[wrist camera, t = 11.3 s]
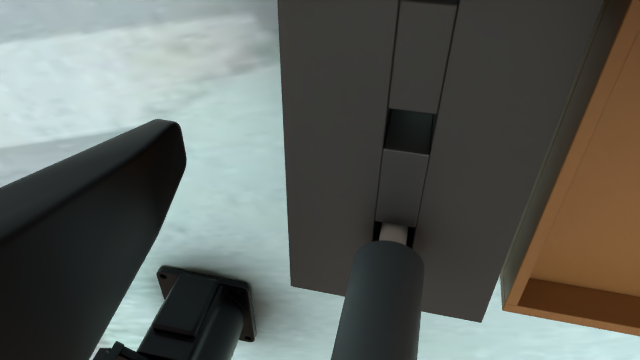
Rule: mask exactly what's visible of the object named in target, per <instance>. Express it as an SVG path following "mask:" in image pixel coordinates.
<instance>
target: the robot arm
mask: <svg viewBox="0 0 640 360" xmlns="http://www.w3.org/2000/svg"><path fill="white" fill-rule="evenodd" d="M185 168H186V152H185V147H184V142H183V136H182V131H181V127H180V125H179V124H178V123H177V122H174V121H168V120H162V119H155V120H153V121H150V122H148V123H146V124H144V125H141V126H139V127H137V128H135V129H132V130H130V131H128V132H125V133H123V134H121V135H119V136H116V137H114V138H112V139H110V140H107V141H105V142H103V143H101V144H98V145H96V146H94V147H91V148H89V149H87V150H85V151H82V152H80V153H78V154H76V155H73V156H71V157H69V158H67V159H64V160H62V161H60V162H58V163H55V164H53V165H51V166H48V167H46V168H44V169H42V170H39V171H37V172H35V173H33V174H30V175H28V176H26V177H24V178H21V179H19V180H17V181H14V182H12V183H10V184H8V185H5V186H3V187H1V188H0V360H89V359H90V357H91V355H92V353H93V352H94V350H95V348H96V346H97V344H98V343H99V341H100V339H101V337H102V335H103V334H104V332H105V330H106V328H107V326H108V325H109V323H110V321H111V319H112V317H113V316H114V314H115V312H116V310H117V308H118V307H119V305H120V303H121V301H122V299H123V298H124V296H125V294H126V292H127V290H128V289H129V287H130V285H131V283H132V281H133V280H134V278H135V276H136V274H137V272H138V271H139V269H140V267H141V265H142V263H143V262H144V260H145V258H146V256H147V254H148V253H149V251H150V249H151V247H152V245H153V243H154V242H155V240H156V238H157V236H158V234H159V231H160V229H161V227H162V225H163V222H164V220H165V217H166V215H167V212H168V210H169V208H170V205H171V203H172V200H173V198H174V195H175V193H176V191H177V188H178V186H179V183H180V181H181V178H182V176H183V173H184V171H185ZM157 278H158V281H159V284H160V287H161V290H162V294H163V297H164V300H165V301H164V303H163V304H162V306H161V308H160V310H159V312H158V313H157V315H156V317H155V319H154V321H153V322H152V324H151V326H150V328H149V330H148V332H147V333H146V335H145V337H144V339H143V341H142V342H141V344H140V346H139V348H138V350H137V351H136V352H135V351H133V350H131V349H129V348H127V347H125V346H124V344H122V343H120V342H118V341H116V342H115V344H114V346H113V347H112V349H111V348H100V349H99V350H98V352H97V354H96V355H95V357H94V359H93V360H231V358H232V355H233V353H234V350H235V348H236V345H237V343H238V340H242V341H247V342H253V341H254V340H255V337H256V329H255V322H254V314H253V307H252V299H251V292H250V287H249V286H248V285H247V284H246V283H243V282H238V281H233V280H228V279H223V278H218V277H212V276H207V275H202V274H197V273H192V272H187V271H181V270H176V269H171V268H166V267H161V268H160V269H159V270H158V272H157Z"/></svg>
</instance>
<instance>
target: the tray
mask: <svg viewBox="0 0 640 360" xmlns="http://www.w3.org/2000/svg"><path fill="white" fill-rule="evenodd" d="M500 279H501V297H502V310H503V311H508V312H513V313H518V314H524V315H529V316H534V317H540V318H545V319H550V320H556V321H561V322H566V323H572V324H577V325H582V326H588V327H593V328H599V329H604V330H609V331H615V332H620V333H625V334H631V335H636V336H640V0H604V2H603V5H602V7H601V10H600V13H599V15H598V18H597V20H596V23H595V26H594V28H593V31H592V34H591V36H590V39H589V41H588V44H587V47H586V49H585V52H584V55H583V57H582V60H581V62H580V65H579V68H578V70H577V73H576V76H575V78H574V81H573V83H572V86H571V89H570V91H569V94H568V97H567V99H566V102H565V104H564V107H563V110H562V112H561V115H560V118H559V120H558V123H557V125H556V128H555V131H554V133H553V136H552V139H551V141H550V144H549V146H548V149H547V152H546V154H545V157H544V160H543V162H542V165H541V167H540V170H539V173H538V175H537V178H536V181H535V183H534V186H533V188H532V191H531V194H530V196H529V199H528V202H527V204H526V207H525V209H524V212H523V215H522V217H521V220H520V223H519V225H518V228H517V230H516V233H515V236H514V238H513V241H512V244H511V246H510V249H509V251H508V254H507V257H506V259H505V262H504V265H503V267H502V270H501V272H500Z"/></svg>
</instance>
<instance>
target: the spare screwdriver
mask: <svg viewBox="0 0 640 360" xmlns="http://www.w3.org/2000/svg"><path fill="white" fill-rule="evenodd" d="M407 233H408V226H402V225H396V224H390V223H384V222H382V227H381V232H380V237H379V241H373V242H370V243H367V244H365V245H363V246H362V247H361V248H360V249H359V250H358V251H357V252H356V254H355V256H354V261H353V265H352V269H351V274H350V278H349V283H348V287H347V291H346V296H345V300H344V304H343V309H342V313H341V318H340V322H339V326H338V331H337V335H336V339H335V344H334V348H333V353H332V357H331V360H417V353H418V341H419V330H420V318H421V307H422V295H423V284H424V272H425V266H424V262H423V260H422V258H421V257H420V255H419V254H418V253H417V252H416V251H414V250H413V249H412V248H410V247H408V246H406V241H407Z"/></svg>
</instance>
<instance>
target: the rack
mask: <svg viewBox="0 0 640 360" xmlns="http://www.w3.org/2000/svg"><path fill="white" fill-rule="evenodd" d="M603 2H604V0H278V21H279V42H280V64H281V85H282V106H283V128H284V149H285V170H286V192H287V213H288V234H289V256H290V277H291V286H293V287H298V288H303V289H309V290H314V291H319V292H324V293H329V294H335V295H340V296H346V291H347V287H348V283H349V278H350V274H351V269H352V265H353V261H354V256H355V254H356V252H357V251H358V250H359V249H360V248H361V247H362V246H363V245H365V244H367V243H370V242H373V241H379V237H380V232H381V227H382V222H384V223H390V224H396V225H402V226H408V233H407V241H406V246H408V247H410V248H412V249H413V250H414V251H416V252H417V253H418V254H419V255H420V257H421V258H422V260H423V262H424V266H425V272H424V284H423V295H422V307H421V311H423V312H428V313H433V314H438V315H443V316H449V317H454V318H459V319H464V320H469V321H475V322H480V323H481V322H482V320H483V317H484V314H485V312H486V309H487V307H488V304H489V301H490V299H491V296H492V293H493V291H494V288H495V286H496V283H497V280H498V278H499V275H500V272H501V270H502V267H503V265H504V262H505V259H506V257H507V254H508V251H509V249H510V246H511V244H512V241H513V238H514V236H515V233H516V230H517V228H518V225H519V223H520V220H521V217H522V215H523V212H524V209H525V207H526V204H527V202H528V199H529V196H530V194H531V191H532V188H533V186H534V183H535V181H536V178H537V175H538V173H539V170H540V167H541V165H542V162H543V160H544V157H545V154H546V152H547V149H548V146H549V144H550V141H551V139H552V136H553V133H554V131H555V128H556V125H557V123H558V120H559V118H560V115H561V112H562V110H563V107H564V104H565V102H566V99H567V97H568V94H569V91H570V89H571V86H572V83H573V81H574V78H575V76H576V73H577V70H578V68H579V65H580V62H581V60H582V57H583V55H584V52H585V49H586V47H587V44H588V41H589V39H590V36H591V34H592V31H593V28H594V26H595V23H596V20H597V18H598V15H599V13H600V10H601V7H602V5H603Z"/></svg>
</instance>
